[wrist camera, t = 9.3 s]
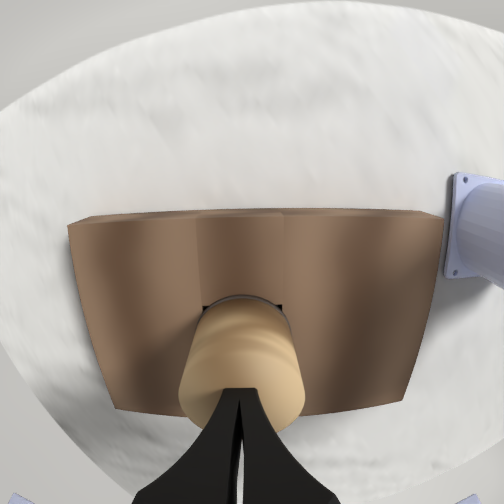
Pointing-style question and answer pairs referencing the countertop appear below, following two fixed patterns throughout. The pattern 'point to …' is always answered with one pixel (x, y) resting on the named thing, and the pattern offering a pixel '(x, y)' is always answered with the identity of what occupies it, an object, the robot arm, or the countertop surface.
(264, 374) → the oak peg
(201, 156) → the countertop surface
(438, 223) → the walnut board
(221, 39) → the countertop surface
